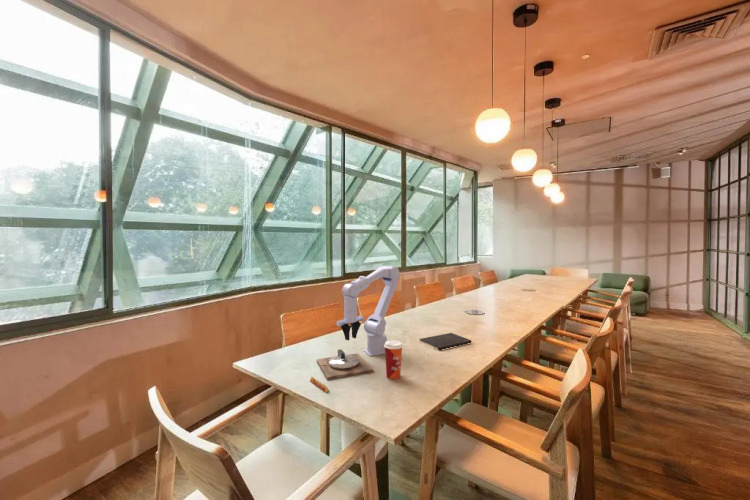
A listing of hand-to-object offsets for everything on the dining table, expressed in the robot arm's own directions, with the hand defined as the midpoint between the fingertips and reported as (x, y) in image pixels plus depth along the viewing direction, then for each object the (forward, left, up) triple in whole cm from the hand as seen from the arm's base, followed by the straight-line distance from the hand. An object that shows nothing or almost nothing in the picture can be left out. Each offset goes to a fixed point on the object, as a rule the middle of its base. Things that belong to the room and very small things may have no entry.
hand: (350, 338), depth 147 cm
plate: (+5, +6, -10) cm, 13 cm away
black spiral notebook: (-55, -4, -11) cm, 56 cm away
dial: (+5, +6, -8) cm, 12 cm away
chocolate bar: (+19, +20, -11) cm, 30 cm away
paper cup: (-11, +23, -10) cm, 28 cm away
